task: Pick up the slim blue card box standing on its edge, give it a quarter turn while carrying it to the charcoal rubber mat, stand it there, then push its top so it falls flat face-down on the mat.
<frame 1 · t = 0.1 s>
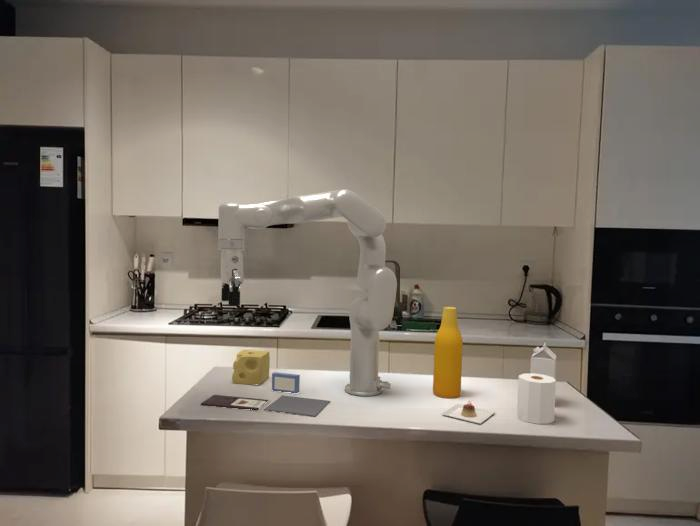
hand: (230, 303, 158), 31 cm above the countertop, tool pointing down, fingers open, 9 cm apart
toilet paper: (535, 418, 157), on the countertop
card box: (285, 392, 175), on the countertop
dessert: (468, 417, 158), on the countertop
chocolate bar: (234, 405, 163), on the countertop
mat: (298, 406, 161), on the countertop
beer bottle: (446, 394, 177), on the countertop
cheese: (251, 381, 187), on the countertop
milk carton: (541, 403, 171), on the countertop
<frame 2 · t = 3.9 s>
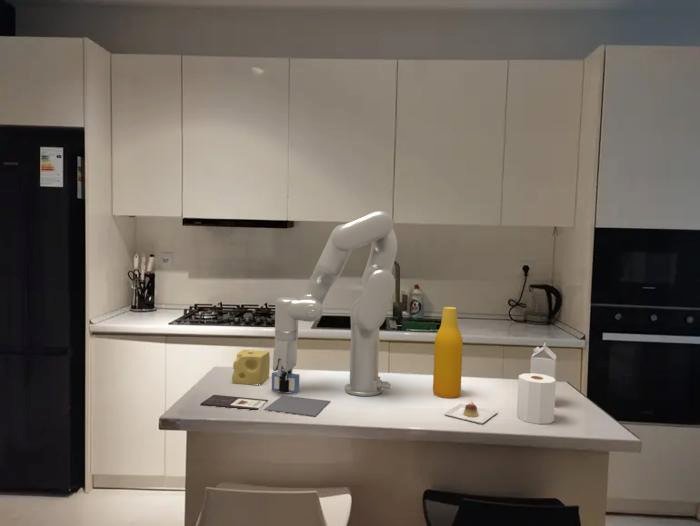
hand: (285, 390, 175), 0 cm above the countertop, tool pointing down, fingers closed on card box, 1 cm apart
card box: (285, 391, 175), on the countertop, touching gripper
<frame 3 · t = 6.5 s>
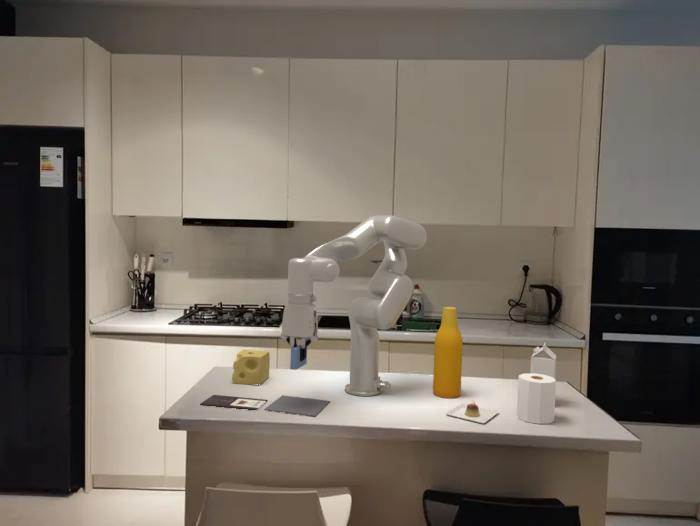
hand: (298, 359, 161), 14 cm above the countertop, tool pointing down, fingers closed on card box, 1 cm apart
card box: (298, 366, 160), point 12 cm above the countertop, touching gripper
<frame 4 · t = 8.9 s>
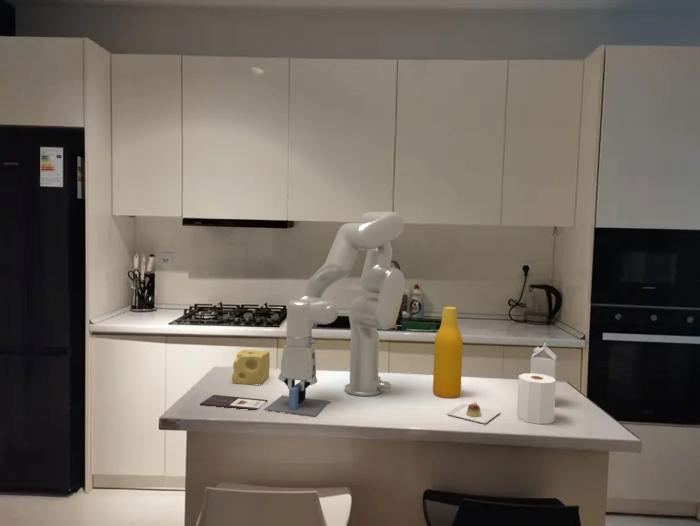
hand: (297, 401, 161), 2 cm above the countertop, tool pointing down, fingers closed on card box, 2 cm apart
card box: (297, 405, 161), resting on mat, touching gripper
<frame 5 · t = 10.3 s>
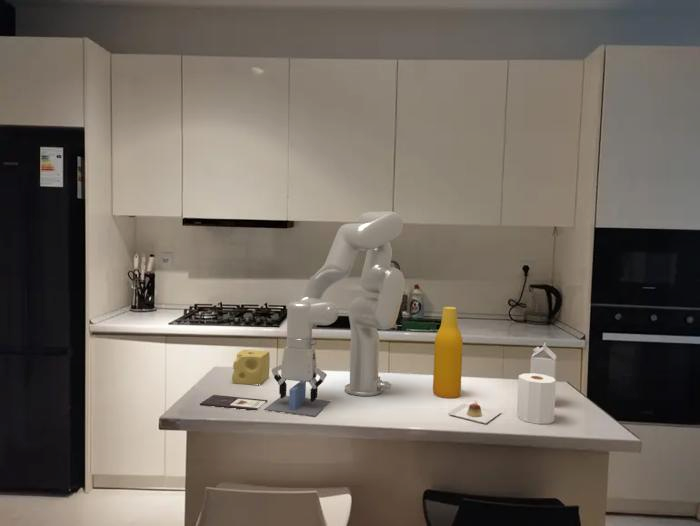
hand: (298, 398, 161), 2 cm above the countertop, tool pointing down, fingers open, 9 cm apart
card box: (297, 405, 161), resting on mat
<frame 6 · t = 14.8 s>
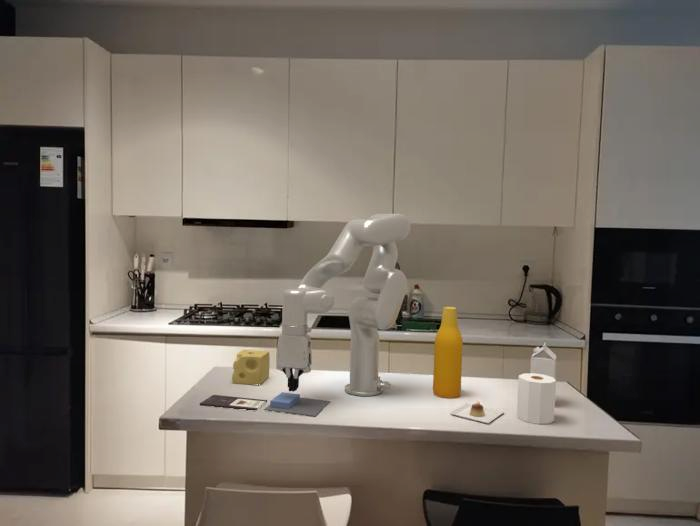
hand: (293, 390, 161), 5 cm above the countertop, tool pointing down, fingers closed
card box: (294, 401, 161), point 1 cm above the countertop, tilted 90°, touching mat
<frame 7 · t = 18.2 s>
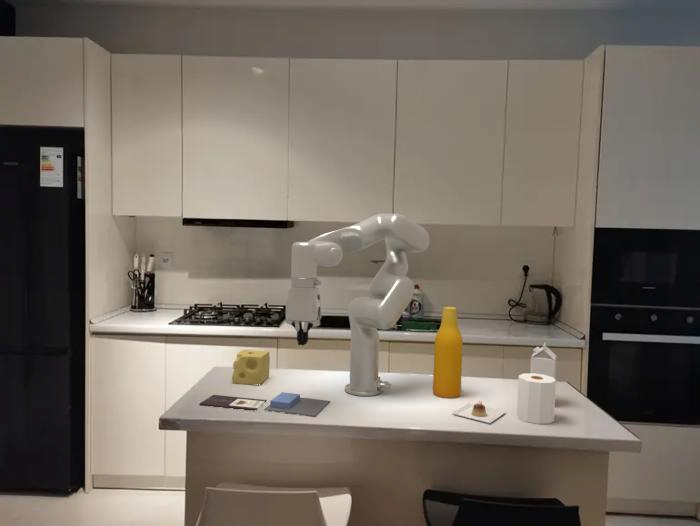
hand: (302, 344, 160), 19 cm above the countertop, tool pointing down, fingers closed
at the end: card box tilted 90°; card box inside the target area (0.9 cm from its centre), point 1.4 cm above the countertop; the gripper is holding nothing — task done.
